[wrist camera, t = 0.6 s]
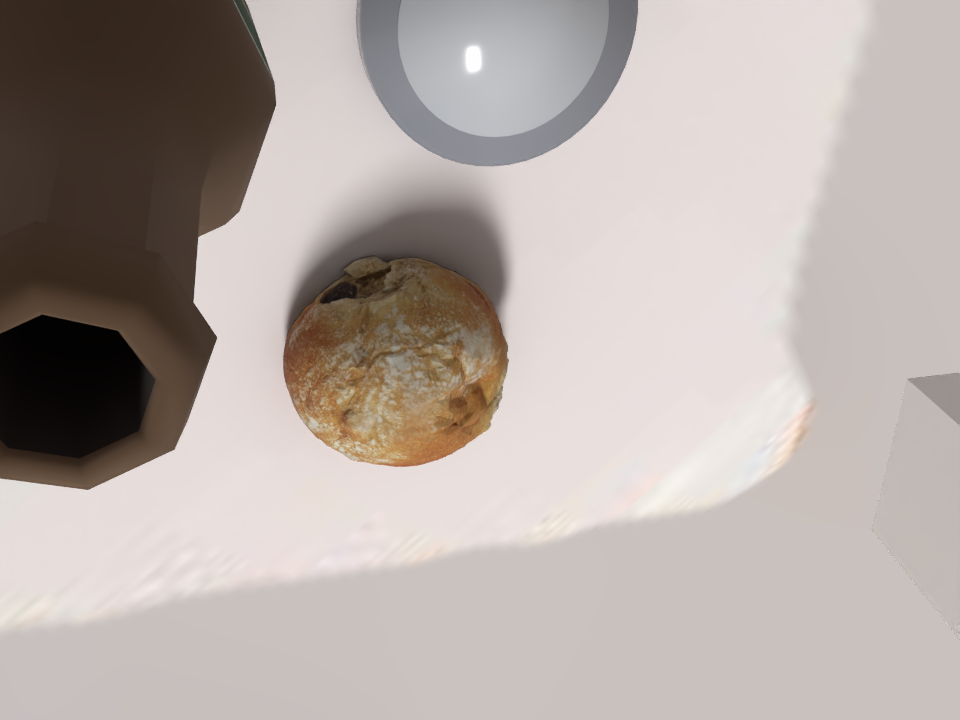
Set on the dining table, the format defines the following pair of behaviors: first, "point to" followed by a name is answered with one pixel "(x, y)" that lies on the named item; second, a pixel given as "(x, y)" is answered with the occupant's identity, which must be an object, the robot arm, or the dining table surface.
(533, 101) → the dish
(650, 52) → the dining table surface
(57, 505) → the dining table surface
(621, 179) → the dining table surface
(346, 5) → the dining table surface
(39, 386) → the beer bottle
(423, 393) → the bread roll
